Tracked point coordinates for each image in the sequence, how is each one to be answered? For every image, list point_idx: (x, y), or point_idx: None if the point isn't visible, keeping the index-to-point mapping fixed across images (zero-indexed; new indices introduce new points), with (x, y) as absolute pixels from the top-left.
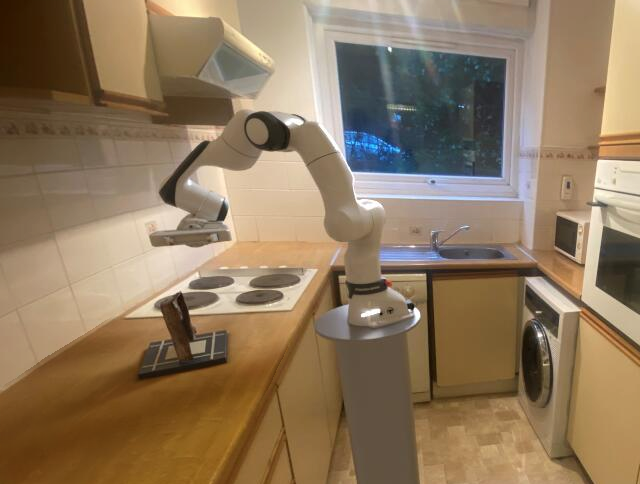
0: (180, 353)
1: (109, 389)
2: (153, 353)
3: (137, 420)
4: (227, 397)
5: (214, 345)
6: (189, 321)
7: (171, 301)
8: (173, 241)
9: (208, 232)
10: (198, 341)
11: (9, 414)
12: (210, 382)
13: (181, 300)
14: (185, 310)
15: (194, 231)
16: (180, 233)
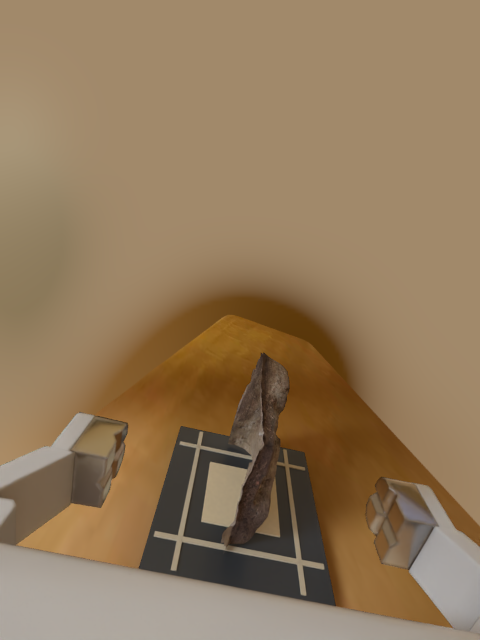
0: (248, 432)
1: (333, 458)
2: (304, 521)
3: None
4: (196, 369)
5: (188, 482)
6: (238, 508)
7: (268, 365)
8: (379, 490)
9: (15, 551)
10: (217, 522)
11: (424, 467)
12: (208, 401)
13: (260, 464)
14: (249, 487)
15: (214, 635)
16: (408, 621)
